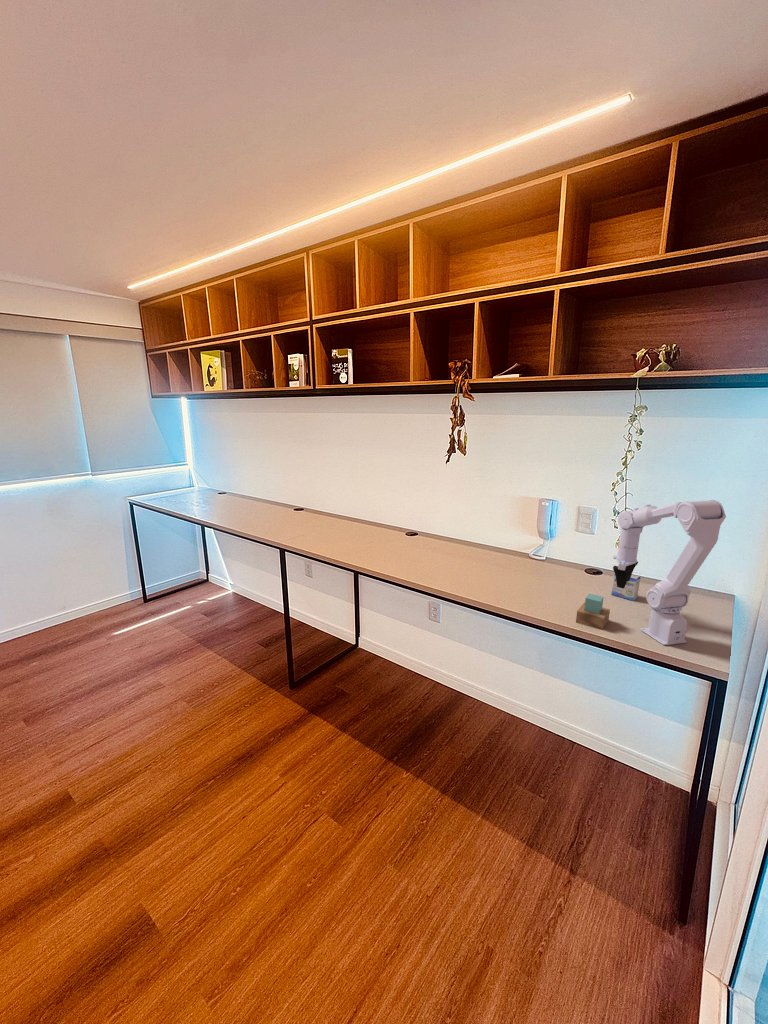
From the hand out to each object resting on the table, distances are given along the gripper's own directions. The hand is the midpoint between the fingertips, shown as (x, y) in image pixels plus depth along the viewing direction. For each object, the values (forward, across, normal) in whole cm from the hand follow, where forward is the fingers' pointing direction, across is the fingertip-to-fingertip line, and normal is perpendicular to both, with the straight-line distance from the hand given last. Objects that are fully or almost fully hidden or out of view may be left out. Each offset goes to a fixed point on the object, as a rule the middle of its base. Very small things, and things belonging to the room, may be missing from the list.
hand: (623, 583), depth 149 cm
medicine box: (+10, -13, -1) cm, 16 cm away
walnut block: (+9, +15, -5) cm, 19 cm away
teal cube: (+5, +15, -5) cm, 17 cm away
